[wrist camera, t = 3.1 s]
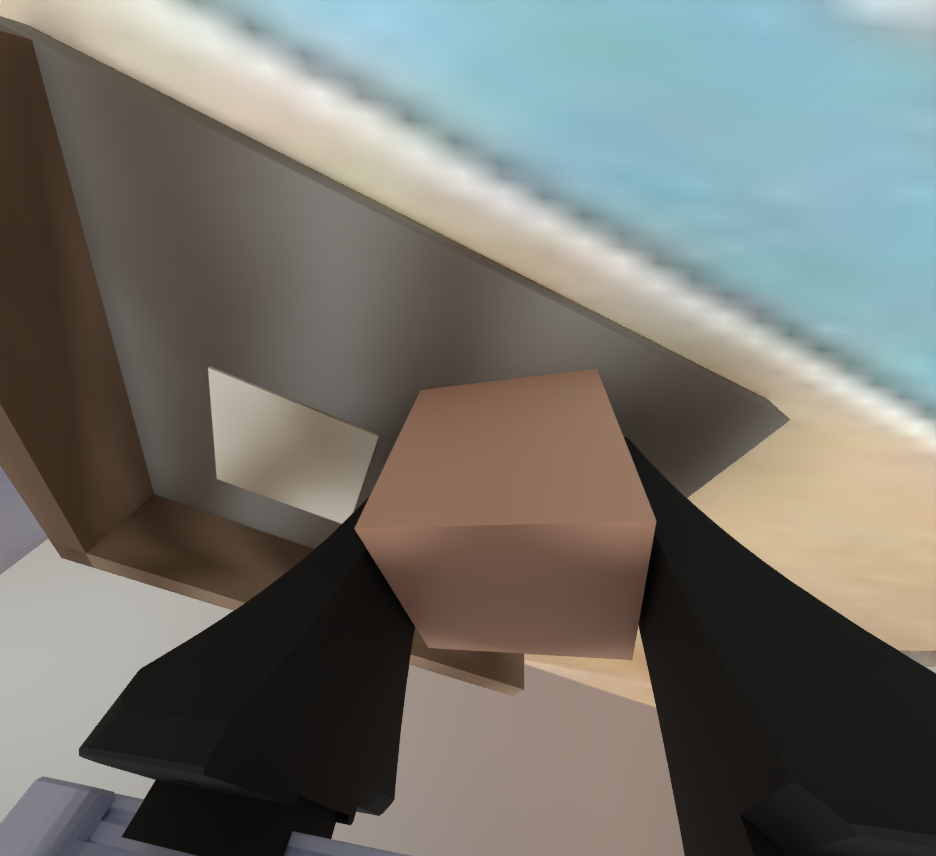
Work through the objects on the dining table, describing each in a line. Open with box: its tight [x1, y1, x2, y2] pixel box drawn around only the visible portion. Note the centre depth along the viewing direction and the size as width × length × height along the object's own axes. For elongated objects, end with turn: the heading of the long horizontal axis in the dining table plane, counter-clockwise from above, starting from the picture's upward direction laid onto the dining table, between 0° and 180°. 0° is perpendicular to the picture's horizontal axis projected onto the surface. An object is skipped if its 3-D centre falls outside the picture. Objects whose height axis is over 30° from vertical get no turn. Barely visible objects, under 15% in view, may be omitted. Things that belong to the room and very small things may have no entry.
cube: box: [354, 369, 656, 660], centre depth 9 cm, size 5×5×5 cm
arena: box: [0, 16, 790, 696], centre depth 12 cm, size 20×16×4 cm
